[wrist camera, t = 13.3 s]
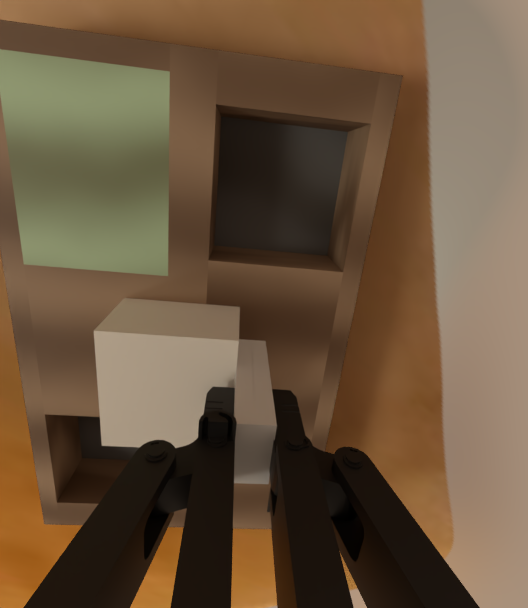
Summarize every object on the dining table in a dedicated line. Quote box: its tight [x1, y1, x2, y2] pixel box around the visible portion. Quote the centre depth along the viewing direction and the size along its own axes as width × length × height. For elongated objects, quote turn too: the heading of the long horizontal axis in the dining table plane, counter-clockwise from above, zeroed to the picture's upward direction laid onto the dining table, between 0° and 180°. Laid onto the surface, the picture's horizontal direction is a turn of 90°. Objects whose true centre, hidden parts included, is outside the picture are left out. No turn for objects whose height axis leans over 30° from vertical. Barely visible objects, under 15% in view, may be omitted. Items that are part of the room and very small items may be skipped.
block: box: [94, 298, 240, 448], centre depth 18 cm, size 6×6×4 cm
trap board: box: [0, 20, 403, 529], centre depth 21 cm, size 28×18×4 cm, turn 174°
